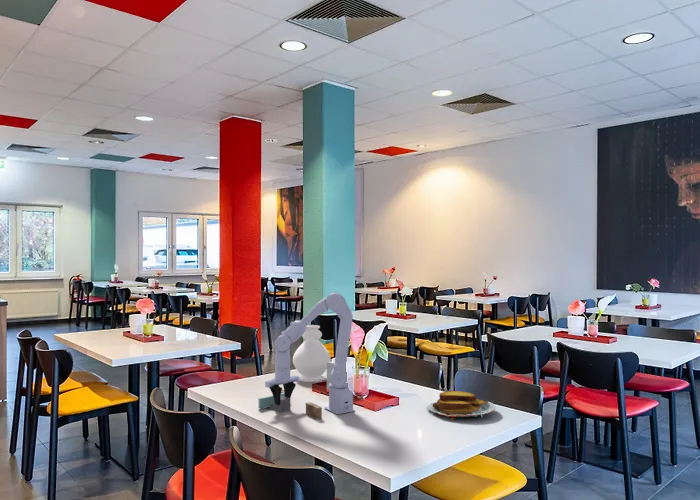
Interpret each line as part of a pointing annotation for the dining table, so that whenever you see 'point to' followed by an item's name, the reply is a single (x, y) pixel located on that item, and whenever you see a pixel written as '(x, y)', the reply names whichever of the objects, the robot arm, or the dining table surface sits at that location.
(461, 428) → the dining table surface
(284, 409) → the door stop
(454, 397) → the food on plate
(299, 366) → the decorative vase
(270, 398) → the door
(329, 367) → the small box
